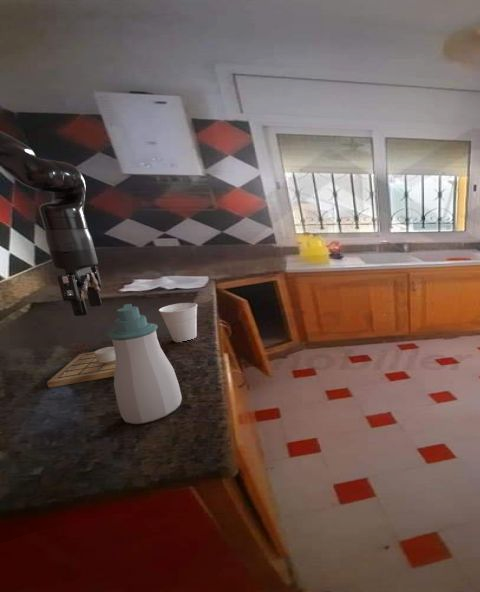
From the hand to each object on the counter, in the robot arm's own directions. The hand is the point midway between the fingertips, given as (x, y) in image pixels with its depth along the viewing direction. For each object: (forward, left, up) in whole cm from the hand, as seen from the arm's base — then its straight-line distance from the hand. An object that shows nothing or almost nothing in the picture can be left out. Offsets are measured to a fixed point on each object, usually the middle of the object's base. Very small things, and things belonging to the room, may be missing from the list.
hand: (89, 310), depth 81 cm
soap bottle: (+17, -31, -16) cm, 39 cm away
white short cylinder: (+1, 0, -14) cm, 14 cm away
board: (+1, 0, -16) cm, 16 cm away
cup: (+16, +12, -16) cm, 25 cm away
